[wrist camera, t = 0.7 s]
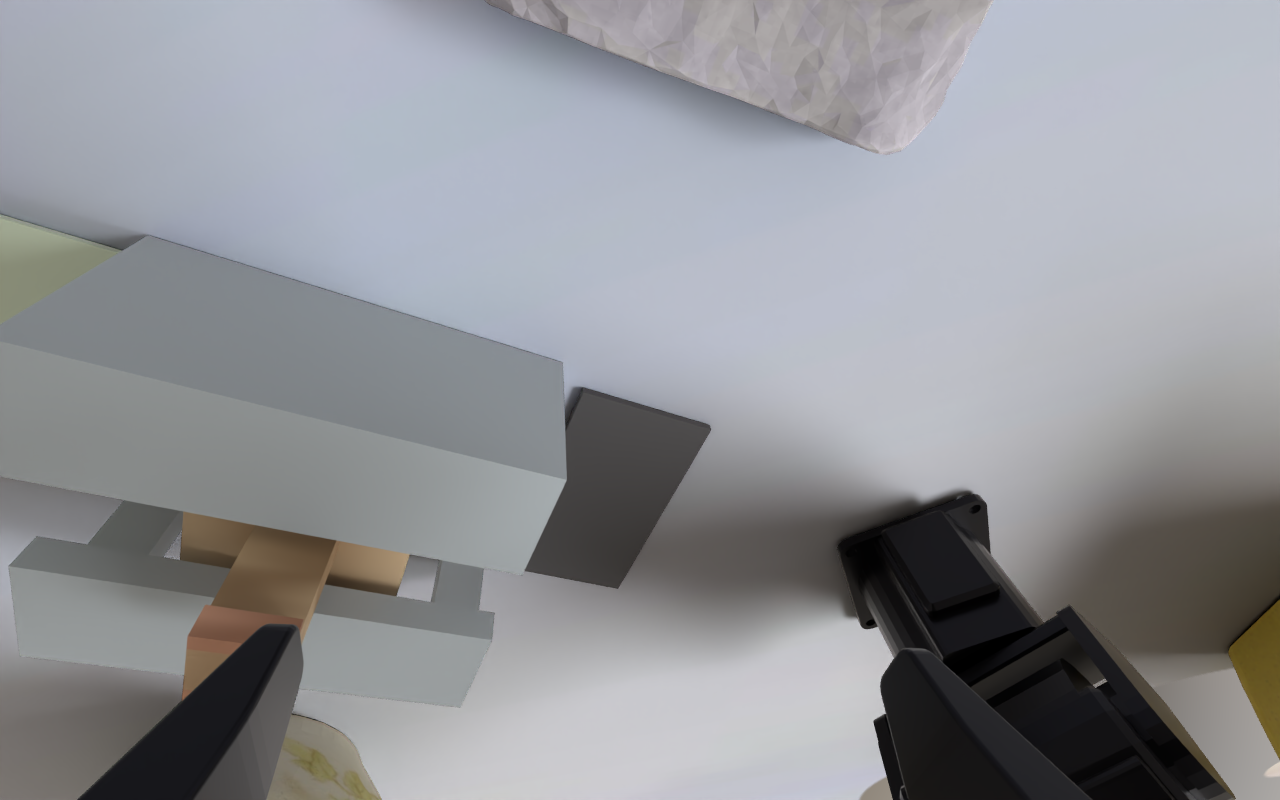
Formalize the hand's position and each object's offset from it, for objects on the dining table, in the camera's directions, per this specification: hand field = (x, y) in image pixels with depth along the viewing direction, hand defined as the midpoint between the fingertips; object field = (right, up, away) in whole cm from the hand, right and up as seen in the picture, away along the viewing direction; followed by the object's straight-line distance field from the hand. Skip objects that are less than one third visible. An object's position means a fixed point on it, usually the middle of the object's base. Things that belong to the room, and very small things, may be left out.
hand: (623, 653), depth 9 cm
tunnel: (-10, +3, +12) cm, 16 cm away
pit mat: (-1, 0, +15) cm, 15 cm away
